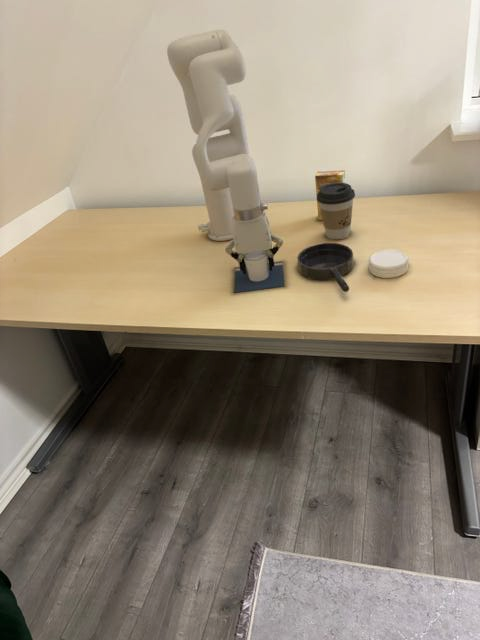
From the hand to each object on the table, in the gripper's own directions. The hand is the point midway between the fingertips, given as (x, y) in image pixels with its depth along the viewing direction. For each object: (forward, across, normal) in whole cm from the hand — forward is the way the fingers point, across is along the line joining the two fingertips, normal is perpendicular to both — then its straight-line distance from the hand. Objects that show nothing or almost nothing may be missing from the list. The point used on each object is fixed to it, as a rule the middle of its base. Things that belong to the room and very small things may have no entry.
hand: (257, 270), depth 141 cm
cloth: (+2, 0, 0) cm, 2 cm away
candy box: (+3, -25, -33) cm, 42 cm away
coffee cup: (+3, -25, -20) cm, 32 cm away
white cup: (+2, 0, 0) cm, 2 cm away
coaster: (+3, -35, +5) cm, 35 cm away
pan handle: (0, -21, +12) cm, 24 cm away
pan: (+2, -19, -1) cm, 19 cm away
